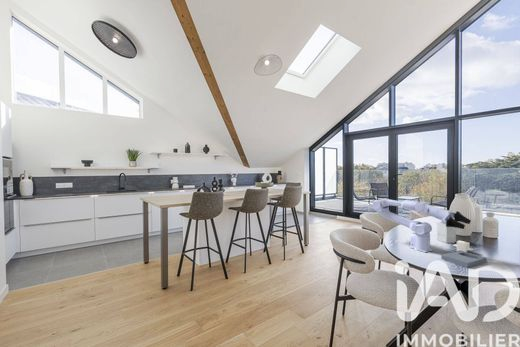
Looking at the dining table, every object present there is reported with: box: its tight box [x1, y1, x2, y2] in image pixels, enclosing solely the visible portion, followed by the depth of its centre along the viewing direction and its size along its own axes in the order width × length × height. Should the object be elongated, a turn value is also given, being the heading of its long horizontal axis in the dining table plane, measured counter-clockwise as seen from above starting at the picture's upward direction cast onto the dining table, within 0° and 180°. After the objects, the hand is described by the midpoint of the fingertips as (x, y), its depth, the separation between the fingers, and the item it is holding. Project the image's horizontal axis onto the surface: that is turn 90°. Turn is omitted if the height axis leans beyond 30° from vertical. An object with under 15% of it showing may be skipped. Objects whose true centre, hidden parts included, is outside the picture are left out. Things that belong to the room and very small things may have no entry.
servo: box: [452, 240, 474, 254], centre depth 144 cm, size 9×3×6 cm, turn 24°
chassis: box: [441, 250, 488, 269], centre depth 131 cm, size 12×17×2 cm
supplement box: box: [436, 220, 457, 244], centre depth 164 cm, size 7×7×13 cm
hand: (467, 224), depth 131 cm, fingers open, 7 cm apart
